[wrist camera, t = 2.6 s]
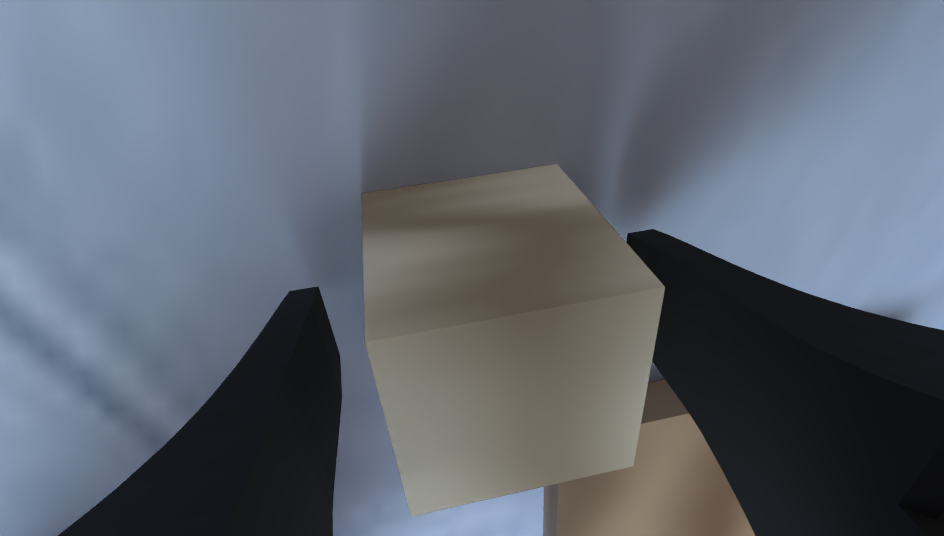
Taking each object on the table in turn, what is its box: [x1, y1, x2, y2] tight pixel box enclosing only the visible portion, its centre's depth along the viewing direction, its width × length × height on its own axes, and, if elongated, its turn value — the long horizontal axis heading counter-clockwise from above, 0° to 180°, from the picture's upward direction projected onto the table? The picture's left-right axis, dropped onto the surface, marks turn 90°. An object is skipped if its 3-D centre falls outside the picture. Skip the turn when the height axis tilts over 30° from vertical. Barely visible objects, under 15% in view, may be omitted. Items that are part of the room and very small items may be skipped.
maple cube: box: [361, 164, 665, 517], centre depth 11 cm, size 4×4×5 cm
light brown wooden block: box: [543, 379, 755, 536], centre depth 20 cm, size 12×12×2 cm
